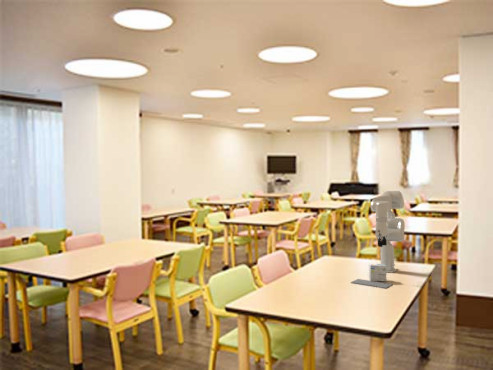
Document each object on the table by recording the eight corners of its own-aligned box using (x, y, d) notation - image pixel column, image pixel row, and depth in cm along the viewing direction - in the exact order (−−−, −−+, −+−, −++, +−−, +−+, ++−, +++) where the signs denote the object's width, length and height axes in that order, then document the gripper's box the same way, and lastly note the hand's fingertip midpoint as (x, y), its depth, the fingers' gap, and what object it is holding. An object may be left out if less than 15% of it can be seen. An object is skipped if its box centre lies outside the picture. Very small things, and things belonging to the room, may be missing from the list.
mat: (357, 279, 287) (357, 278, 287) (392, 285, 271) (392, 284, 271) (350, 283, 279) (350, 282, 279) (386, 288, 263) (386, 287, 263)
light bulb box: (384, 279, 285) (384, 263, 285) (386, 281, 278) (386, 265, 279) (368, 279, 286) (368, 263, 286) (370, 281, 279) (370, 265, 280)
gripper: (381, 218, 297) (382, 243, 298) (371, 221, 284) (371, 247, 285) (391, 219, 292) (392, 244, 293) (381, 221, 279) (382, 248, 280)
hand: (382, 245), depth 289 cm, fingers open, 6 cm apart
